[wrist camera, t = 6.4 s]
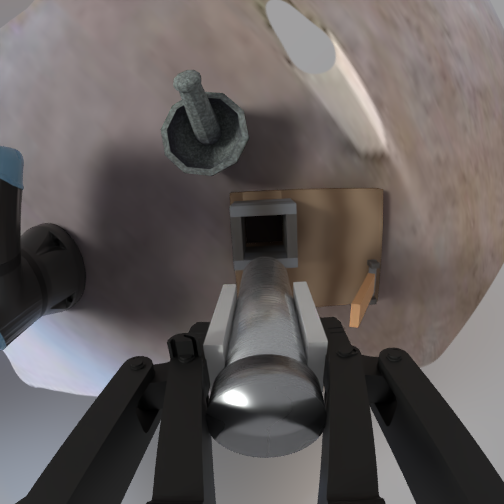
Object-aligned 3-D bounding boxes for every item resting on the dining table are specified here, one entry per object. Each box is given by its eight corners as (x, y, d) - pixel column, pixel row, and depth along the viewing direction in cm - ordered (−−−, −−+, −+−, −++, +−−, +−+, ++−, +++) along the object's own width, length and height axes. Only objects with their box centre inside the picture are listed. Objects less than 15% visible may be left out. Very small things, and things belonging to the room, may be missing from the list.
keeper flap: (348, 331, 30) (357, 332, 30) (351, 298, 29) (361, 299, 29) (367, 292, 40) (374, 293, 39) (369, 266, 38) (377, 266, 38)
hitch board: (239, 304, 43) (235, 333, 35) (231, 192, 38) (223, 197, 31) (372, 296, 42) (392, 320, 34) (377, 188, 38) (403, 193, 30)
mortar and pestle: (255, 168, 37) (253, 166, 26) (185, 182, 38) (155, 187, 27) (239, 88, 35) (231, 55, 23) (171, 103, 35) (137, 80, 24)
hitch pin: (236, 253, 22) (196, 382, 8) (291, 251, 21) (333, 378, 8) (239, 304, 23) (213, 456, 9) (292, 302, 22) (320, 454, 9)
